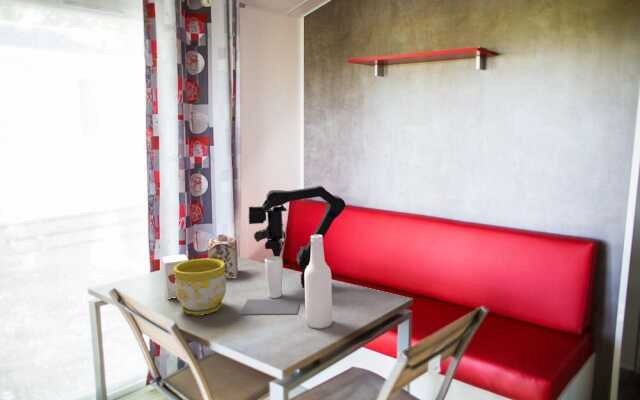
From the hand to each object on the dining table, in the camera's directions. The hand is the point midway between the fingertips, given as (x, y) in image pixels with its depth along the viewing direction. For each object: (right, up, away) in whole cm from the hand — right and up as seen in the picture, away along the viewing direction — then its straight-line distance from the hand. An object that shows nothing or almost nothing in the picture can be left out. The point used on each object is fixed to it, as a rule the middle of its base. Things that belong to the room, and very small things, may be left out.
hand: (276, 260), depth 197 cm
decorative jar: (-25, -9, +21) cm, 34 cm away
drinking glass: (0, -13, -7) cm, 15 cm away
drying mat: (0, -15, -18) cm, 23 cm away
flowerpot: (-25, -16, -18) cm, 35 cm away
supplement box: (-39, -13, -2) cm, 41 cm away
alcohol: (+17, -17, -33) cm, 41 cm away
